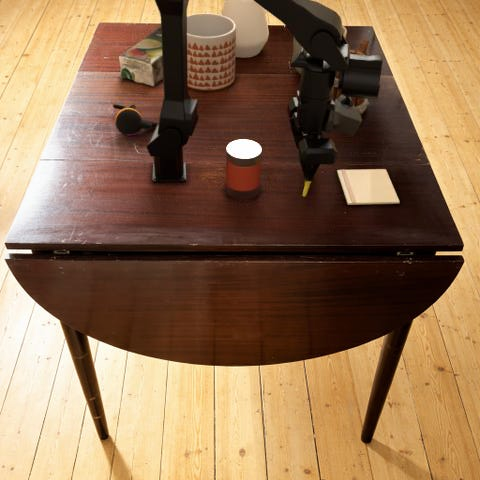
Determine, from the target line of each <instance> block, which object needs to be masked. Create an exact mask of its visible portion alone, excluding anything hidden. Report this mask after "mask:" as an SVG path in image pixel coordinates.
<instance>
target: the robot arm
mask: <svg viewBox="0 0 480 480" xmlns="http://www.w3.org/2000/svg"><path fill="white" fill-rule="evenodd" d="M254 1H255V2H256V3H258V4H259V5H260V6H262V7H263V8H264V9H265V11H267V12H268V13H269V14H271V15H272V16H273V17H275V18H276V19H277V20H279V21H280V22H281V23H282V24H283V25H284V26H285V27H286V28H287V29H288V31H289V32H290V33H291V35H292V36H293V39H294V38H295V39H296V41H297V42H298V43H299V44H300V45H301V46H302V48H301V49H300V50H299V51H298V52H296V53H295V54H293V53H292V57H291V61H290V67H291V68H295V67H296V68H302V71H301V75H300V80H299V81H300V82H299V88H298V89H299V90H296V94H295V96H296V97H292V98H291V99H290V100H288V101H287V107H286V112H287V116H288V122H289V126H290V130H291V134H292V137H293V139H294V143H295V146H296V153H297V157H298V160H299V164H300V167H301V171H302V173H303V177H304V181H305V180H306V181H311V182H312V181H313V179H314V177H315V175H316V173H317V171H318V170H319V167H320V166H321V165H335V164H336V163H337V159H338V153H339V152H338V150H337V147H336V144H335V142H334V141H333V139H331V138H330V137H324V133H325V134H332V133H333V130H335V131H338V132H341V133H344V134H346V135H347V136H349V137H354V136H355V134H356V132H357V130H358V128H359V127H360V126H361V123H362V122H363V119H362V115H361V116H360V113H359V111H358V110H357V109H356V108H355V106H353V107H352V100H351V97H355V98H365V99H368V100H376V101H377V100H378V97H379V93H380V89H381V75H382V68H383V64H384V63H383V61H384V59H383V55H380V54H379V55H377V54H372V55H367V56H366V55H356V54H350V50H351V46H350V45H349V43H348V41H347V38H346V39H345V37H344V35H343V34H342V25H343V22H342V21H343V20H342V18H341V16H340V15H339V14H338V12H337V11H335V10H334V9H332V8H330V7H328V6H326V5H324V4H322V3H320V2H319V1H315V0H254ZM189 2H190V0H154V3H155V5H156V7H157V10H158V12H159V17H160V27H161V37H162V60H163V79H162V80H163V81H162V82H163V84H162V85H163V99H162V105H161V109H160V114H159V119H158V122H157V123H158V124H157V126H156V128H154V130H153V132H152V135H151V136H150V138H149V141H148V142H147V145H146V150H147V152H148V154H149V156H150V157H152V158H153V162H152V183H153V184H157V183H159V184H160V183H162V184H163V183H186V182H187V163H186V161H184V146H186V145H187V144H188V142H189V139H190V137H193V135H194V132H195V130H196V127H197V124H198V122H199V120H200V119H199V118H200V116H199V113H198V105H199V99H196V98H195V99H192V98H191V95H190V93H189V88H188V71H187V16H188V6H189ZM336 71H339V72H340V75H339V82H338V89H339V90H341V89H342V90H341V96H340V97H339V98H337V99H335V101H333V100H332V95H333V88H334V82H335V75H336ZM323 132H324V133H323Z"/></svg>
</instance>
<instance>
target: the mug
mask: <svg viewBox="0 0 480 480" xmlns="http://www.w3.org/2000/svg"><path fill="white" fill-rule="evenodd" d="M369 44H370V40H369V39H365V38H363V39H362V40H361V41H360V43H359V44H358V45H359V46H358V48H357V49H356V50H354V49H350V54H356V55H366V56H368V52H367V51H368V47H369ZM339 75H340V72H339V71H336V75H335V82H334V88H333V95H332V100H333V101H335V99H337V98H339V97H340V96H341V90H342V89H341V90H339V89H338V82H339ZM351 100H352V107H353V106H355V108H356V109H357V110H358V111H359V113H360V116H361V117H362V116H363V114H364V113H365V111H366V110H367V107H368V106H369V105H370V102H369V101H368V100H369V99H365V98H355V97H351Z"/></svg>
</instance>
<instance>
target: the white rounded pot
mask: <svg viewBox="0 0 480 480" xmlns="http://www.w3.org/2000/svg"><path fill="white" fill-rule="evenodd" d="M220 15H222V16H225V17H228V18H230V19H231V20H233V21H234V23H235V24H236V53H235V58H245V59H246V58H252V57H255V56H257V55H258V54H260V53H261V51H262V49H264V46H265V45H266V43H267V42H268V39H269V35H270V32H269V31H270V30H269V25H268V19H267V14H266V10H265V9H264V8H263V7H262V6H260V5H259V4H258V3H256V2H255V1H254V0H224V2H223V6H222V10H221V13H220Z"/></svg>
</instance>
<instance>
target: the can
mask: <svg viewBox="0 0 480 480" xmlns="http://www.w3.org/2000/svg"><path fill="white" fill-rule="evenodd" d="M225 149H226V153H225V154H226V155H225V193H226V194H227V196H229V197H231V198H232V199H235V200H239V201H247V200H251V199H254V198H255V197H257V196H258V195H259V192H260V184H261V171H262V146H261V145H260V144H259V143H258V142H256V141H254V140H250V139H236V140H233V141H231V142H229V143H228V144H227V146H226V148H225Z"/></svg>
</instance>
